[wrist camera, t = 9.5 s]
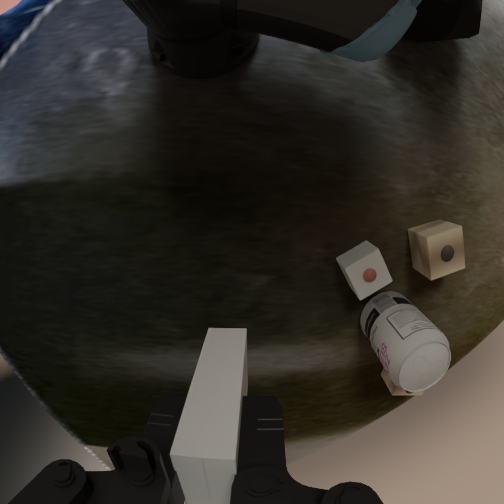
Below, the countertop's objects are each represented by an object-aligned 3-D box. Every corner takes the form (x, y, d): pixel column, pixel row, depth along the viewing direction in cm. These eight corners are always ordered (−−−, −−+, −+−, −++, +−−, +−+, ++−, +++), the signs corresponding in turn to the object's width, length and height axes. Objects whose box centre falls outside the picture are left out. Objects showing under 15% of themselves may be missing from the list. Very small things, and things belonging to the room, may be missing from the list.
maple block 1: (392, 344, 46) (406, 364, 40) (421, 346, 46) (437, 365, 40) (380, 374, 47) (392, 396, 41) (409, 375, 48) (422, 395, 41)
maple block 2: (407, 228, 41) (427, 237, 35) (440, 219, 41) (462, 226, 35) (412, 267, 43) (431, 281, 37) (444, 256, 42) (465, 268, 36)
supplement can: (416, 309, 44) (465, 357, 30) (380, 346, 46) (416, 405, 31) (386, 278, 43) (434, 323, 29) (348, 319, 45) (380, 378, 30)
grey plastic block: (335, 257, 43) (344, 269, 38) (366, 240, 42) (379, 249, 37) (350, 287, 44) (360, 301, 39) (379, 269, 43) (393, 281, 38)
